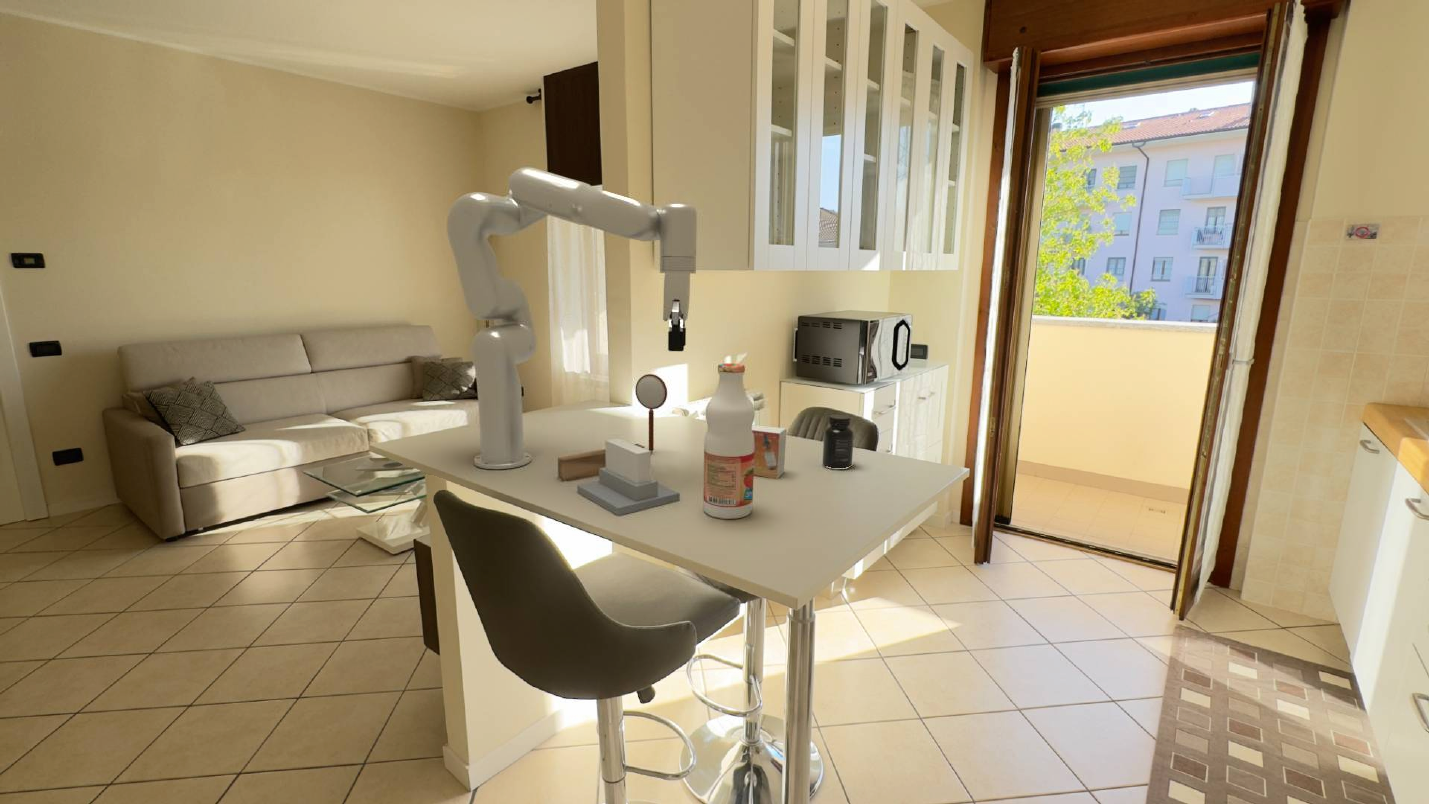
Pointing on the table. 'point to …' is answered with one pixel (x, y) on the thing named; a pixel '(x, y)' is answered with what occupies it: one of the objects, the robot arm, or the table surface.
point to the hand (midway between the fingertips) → (677, 348)
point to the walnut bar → (582, 464)
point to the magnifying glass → (651, 399)
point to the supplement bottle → (838, 442)
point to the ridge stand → (627, 481)
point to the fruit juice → (729, 447)
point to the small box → (769, 451)
